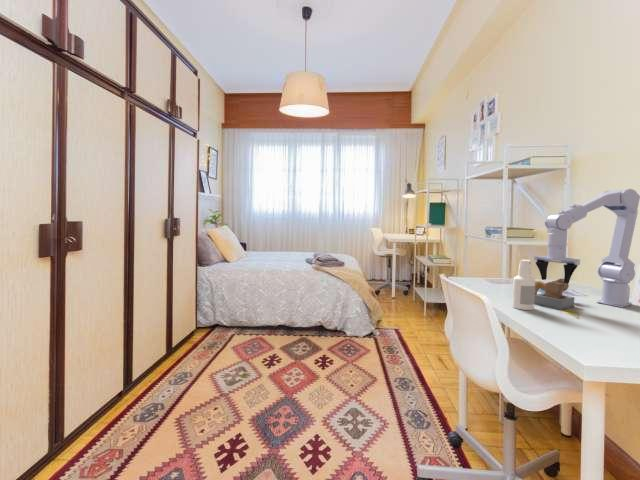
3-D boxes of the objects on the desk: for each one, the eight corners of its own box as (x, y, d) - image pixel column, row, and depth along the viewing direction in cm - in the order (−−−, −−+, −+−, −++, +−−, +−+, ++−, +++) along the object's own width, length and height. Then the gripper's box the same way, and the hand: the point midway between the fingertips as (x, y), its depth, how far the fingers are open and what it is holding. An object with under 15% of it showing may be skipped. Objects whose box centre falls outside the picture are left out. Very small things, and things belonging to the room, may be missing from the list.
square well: (546, 300, 130) (546, 292, 129) (573, 306, 121) (574, 297, 121) (533, 303, 125) (534, 295, 125) (561, 310, 117) (562, 300, 116)
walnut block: (550, 301, 126) (551, 281, 125) (561, 304, 122) (563, 283, 122) (545, 303, 124) (546, 282, 123) (556, 305, 120) (558, 284, 120)
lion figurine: (568, 300, 131) (569, 278, 130) (566, 302, 127) (568, 280, 126) (526, 294, 141) (527, 273, 140) (523, 296, 137) (524, 275, 136)
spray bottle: (530, 311, 115) (532, 262, 113) (509, 307, 120) (511, 260, 119) (536, 308, 119) (538, 260, 118) (515, 304, 124) (517, 258, 123)
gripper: (530, 244, 126) (529, 279, 127) (574, 248, 113) (572, 285, 114) (540, 244, 129) (538, 277, 130) (583, 247, 117) (581, 283, 118)
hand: (554, 281), depth 122 cm, fingers open, 7 cm apart
